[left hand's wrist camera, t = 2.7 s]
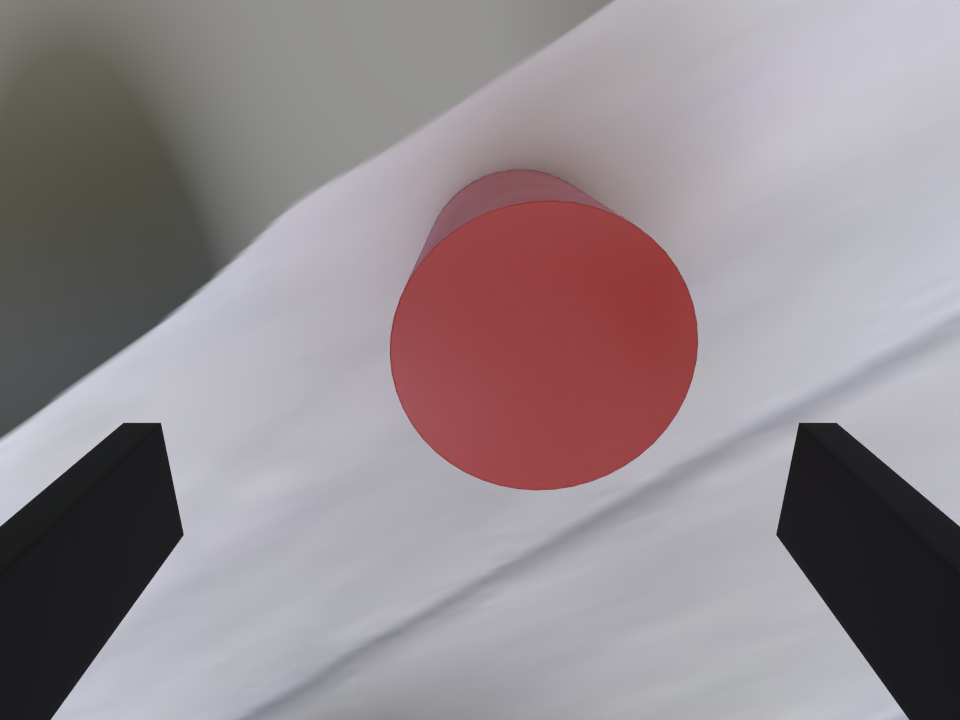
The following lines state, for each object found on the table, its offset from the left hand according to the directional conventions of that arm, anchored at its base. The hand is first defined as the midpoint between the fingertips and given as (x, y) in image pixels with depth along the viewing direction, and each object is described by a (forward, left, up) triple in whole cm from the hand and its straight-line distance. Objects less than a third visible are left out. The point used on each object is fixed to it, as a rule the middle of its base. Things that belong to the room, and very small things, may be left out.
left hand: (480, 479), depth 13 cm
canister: (-1, -2, -19) cm, 19 cm away
